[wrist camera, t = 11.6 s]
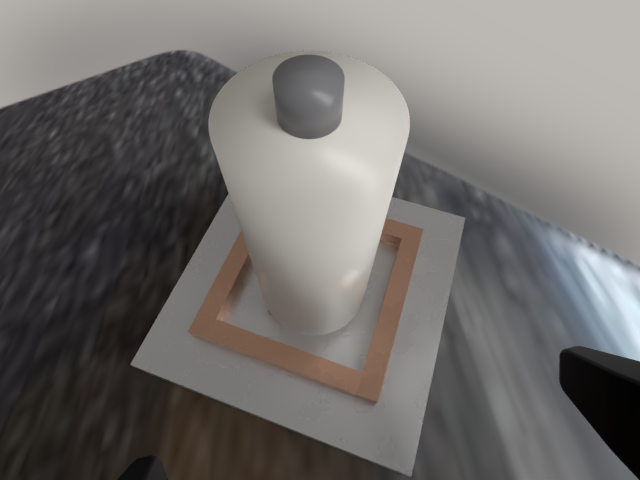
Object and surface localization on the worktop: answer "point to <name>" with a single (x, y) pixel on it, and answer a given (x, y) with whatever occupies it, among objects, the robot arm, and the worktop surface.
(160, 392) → the worktop surface
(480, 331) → the worktop surface
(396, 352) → the press bed
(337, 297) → the white bottle
